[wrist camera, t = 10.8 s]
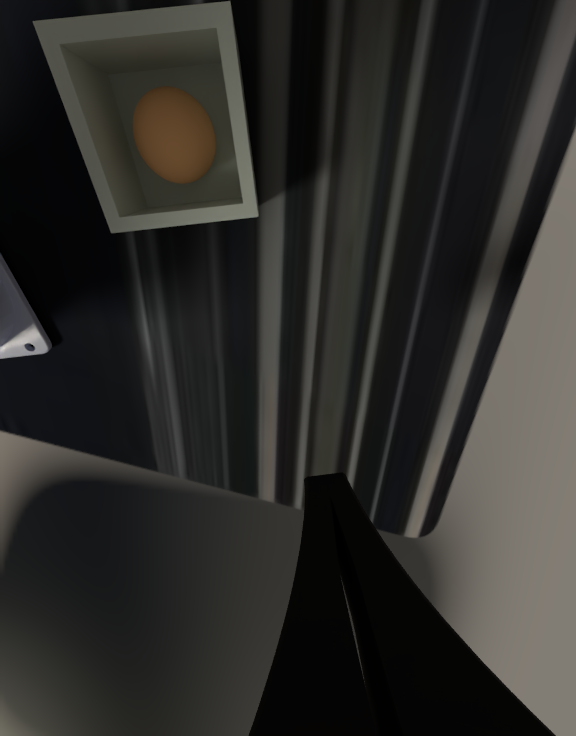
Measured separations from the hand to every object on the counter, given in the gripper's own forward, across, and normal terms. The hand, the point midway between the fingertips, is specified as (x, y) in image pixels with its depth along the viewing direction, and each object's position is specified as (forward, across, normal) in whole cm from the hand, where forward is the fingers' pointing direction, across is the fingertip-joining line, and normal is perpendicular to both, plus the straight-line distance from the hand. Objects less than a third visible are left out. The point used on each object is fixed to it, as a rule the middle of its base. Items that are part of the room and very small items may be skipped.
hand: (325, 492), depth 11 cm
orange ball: (+8, +4, -11) cm, 14 cm away
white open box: (+10, +4, -11) cm, 16 cm away
